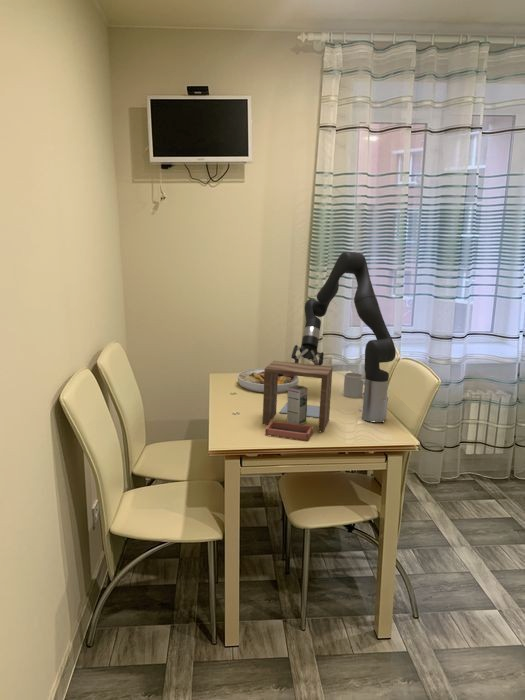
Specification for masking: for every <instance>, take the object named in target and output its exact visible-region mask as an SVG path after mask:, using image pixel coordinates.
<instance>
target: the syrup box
mask: <svg viewBox="0 0 525 700" xmlns="http://www.w3.org/2000/svg"><path fill="white" fill-rule="evenodd" d="M286 403H287V415H286V423H291V424H299V425H304V424H305V422H306V423H307V417H306V416H307V405H308V387H306V386H303V385H298V384H297V385H296V386H294V387H291V388H288V391H287V402H286Z"/></svg>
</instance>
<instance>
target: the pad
mask: <svg viewBox="0 0 525 700" xmlns="http://www.w3.org/2000/svg"><path fill="white" fill-rule="evenodd" d="M279 413H280V415H286V414H287V402H285V404H284V405H283V406H282V408H281V409H280V411H278V414H279ZM319 413H320V405H319V406H318V405H311V404H307V416H306V418H310V417H313V418H312V419H318V418H319Z"/></svg>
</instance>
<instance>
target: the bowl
mask: <svg viewBox="0 0 525 700" xmlns="http://www.w3.org/2000/svg"><path fill="white" fill-rule="evenodd" d="M264 371H265V368H255V369H247V370H243V371H241V372H239V373H238V374H237V382H238V384H239V385H240V386H241V387H242V388H244V389H245V390H248V391H252V392H255V393H262V392H263V393H262V394H264ZM299 377H300V376H294V375H284V374H278V383H277V394H279V393H285V392H288V388H291V387H294V386H296V385H297V386H298V383H299V382H300V381H299V380H300V379H299Z"/></svg>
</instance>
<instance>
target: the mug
mask: <svg viewBox="0 0 525 700" xmlns="http://www.w3.org/2000/svg"><path fill="white" fill-rule="evenodd" d="M364 385H365V374H362V373H359V372H346V373H345V374H344V383H343V396H344V397H346V398H351V399H359V398H363V396H364Z"/></svg>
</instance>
